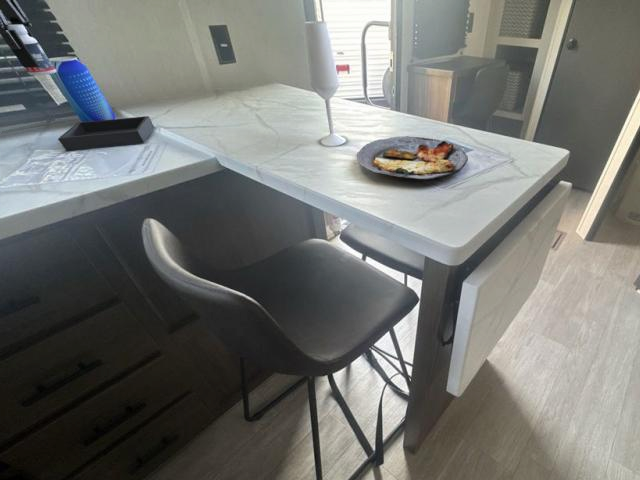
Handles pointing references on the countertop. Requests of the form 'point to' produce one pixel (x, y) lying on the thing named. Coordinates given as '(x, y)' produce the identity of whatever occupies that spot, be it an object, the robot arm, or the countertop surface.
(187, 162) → the countertop surface
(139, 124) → the tray
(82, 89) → the beer can
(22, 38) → the pill bottle
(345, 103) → the countertop surface
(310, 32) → the champagne flute
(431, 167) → the food plate
